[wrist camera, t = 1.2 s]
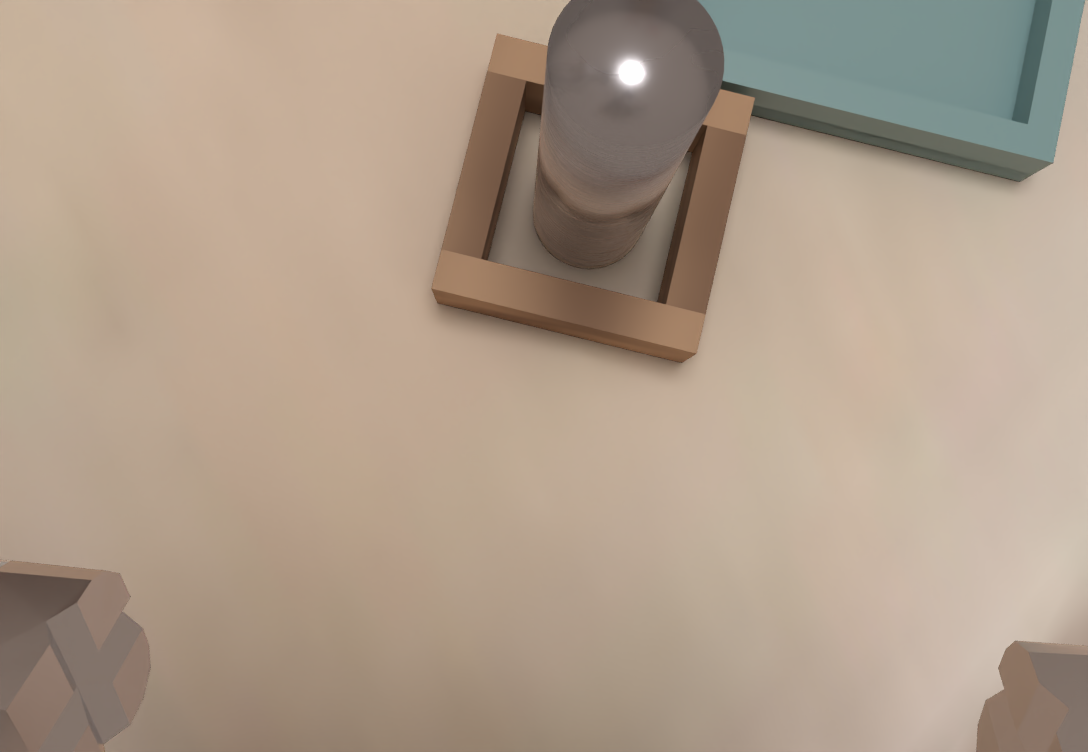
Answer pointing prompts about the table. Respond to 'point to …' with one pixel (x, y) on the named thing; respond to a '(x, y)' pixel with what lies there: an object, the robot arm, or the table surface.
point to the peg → (618, 119)
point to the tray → (910, 73)
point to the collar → (565, 303)
